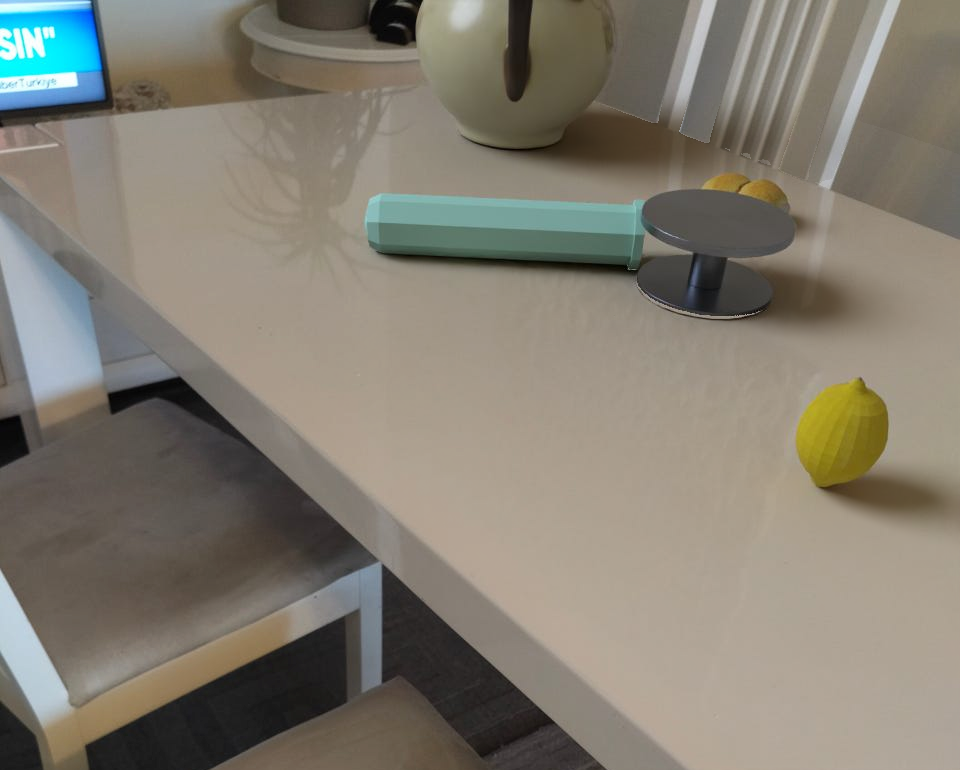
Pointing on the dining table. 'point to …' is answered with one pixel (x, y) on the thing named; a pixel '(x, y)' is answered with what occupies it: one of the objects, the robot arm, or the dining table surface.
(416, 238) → the container
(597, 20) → the pitcher
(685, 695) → the dining table surface
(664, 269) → the stand
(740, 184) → the bread roll
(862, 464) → the fruit
